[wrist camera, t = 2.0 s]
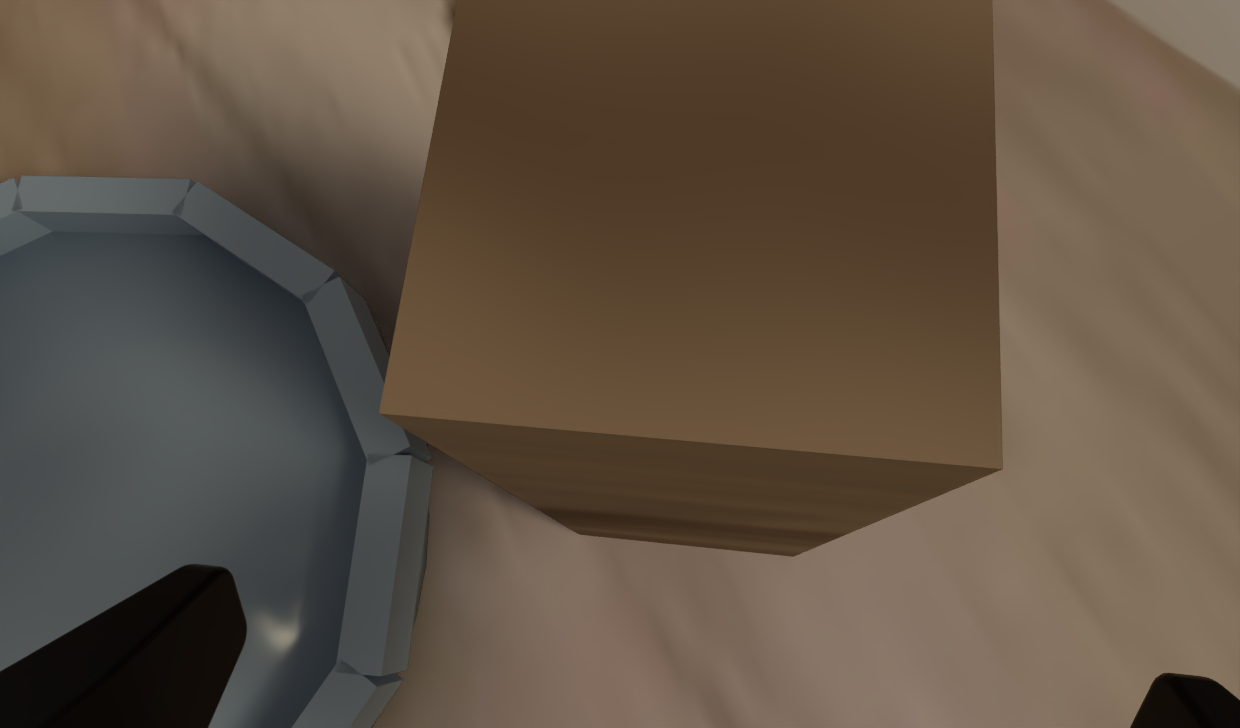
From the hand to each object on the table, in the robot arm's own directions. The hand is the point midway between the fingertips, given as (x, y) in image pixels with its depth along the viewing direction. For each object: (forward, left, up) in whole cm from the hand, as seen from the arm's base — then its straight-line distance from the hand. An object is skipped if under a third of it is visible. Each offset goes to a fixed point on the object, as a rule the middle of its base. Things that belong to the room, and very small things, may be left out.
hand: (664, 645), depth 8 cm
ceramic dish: (-7, +13, -11) cm, 19 cm away
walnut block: (+4, +2, -11) cm, 12 cm away
